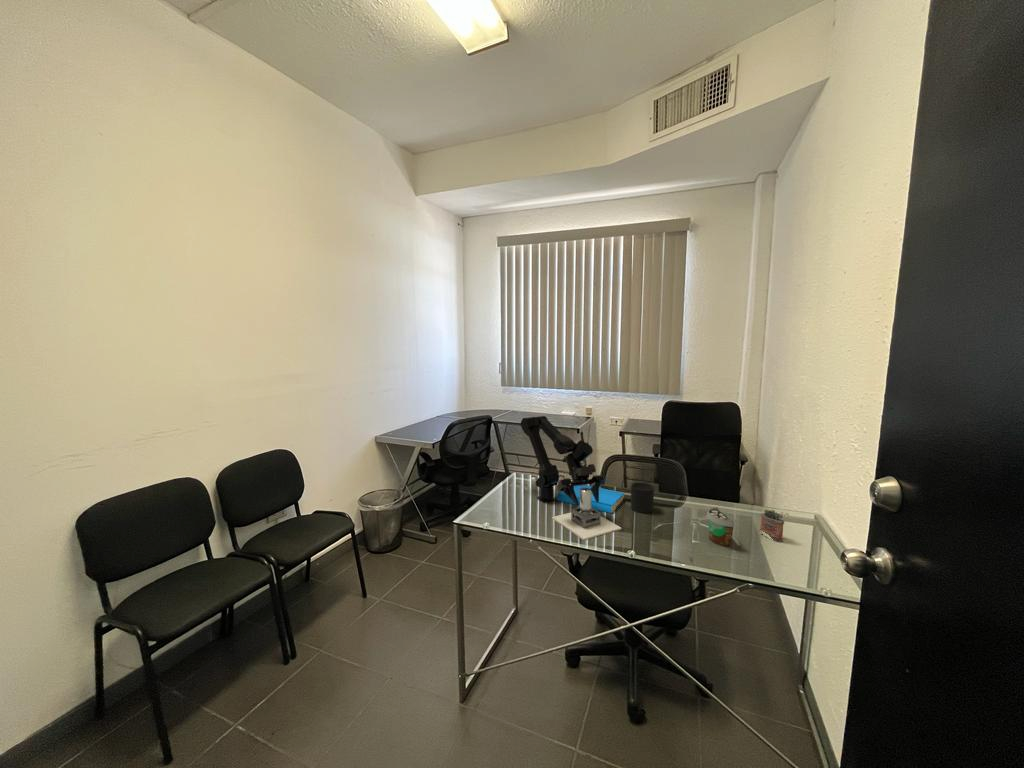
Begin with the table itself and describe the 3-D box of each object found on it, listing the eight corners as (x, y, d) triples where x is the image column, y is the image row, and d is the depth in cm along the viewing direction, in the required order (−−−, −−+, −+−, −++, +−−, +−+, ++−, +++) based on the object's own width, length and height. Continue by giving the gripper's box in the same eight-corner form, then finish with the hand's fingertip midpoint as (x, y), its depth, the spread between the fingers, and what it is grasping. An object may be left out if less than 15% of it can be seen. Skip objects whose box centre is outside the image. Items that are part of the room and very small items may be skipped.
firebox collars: (571, 520, 157) (571, 509, 157) (587, 516, 161) (587, 505, 161) (584, 528, 150) (584, 516, 150) (600, 524, 154) (600, 512, 154)
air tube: (577, 522, 156) (577, 490, 154) (583, 518, 159) (583, 486, 158) (587, 525, 153) (587, 492, 151) (593, 521, 156) (593, 489, 155)
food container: (699, 532, 150) (700, 506, 149) (715, 532, 149) (717, 506, 148) (714, 548, 137) (716, 520, 136) (732, 549, 137) (734, 521, 136)
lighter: (757, 533, 149) (758, 507, 148) (763, 531, 150) (765, 506, 149) (778, 543, 141) (780, 516, 140) (784, 541, 143) (787, 514, 142)
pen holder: (658, 510, 169) (659, 487, 168) (643, 515, 164) (644, 492, 163) (639, 503, 177) (640, 481, 176) (625, 507, 171) (626, 485, 170)
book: (572, 482, 193) (624, 492, 179) (572, 490, 193) (624, 501, 180) (557, 493, 178) (611, 504, 165) (557, 502, 179) (611, 514, 165)
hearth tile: (552, 518, 160) (552, 517, 160) (587, 509, 169) (587, 508, 169) (583, 540, 143) (583, 538, 143) (621, 529, 151) (621, 527, 151)
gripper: (560, 459, 154) (573, 497, 145) (603, 455, 160) (617, 491, 151) (552, 472, 162) (563, 509, 153) (592, 468, 168) (606, 503, 159)
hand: (588, 503), depth 154 cm, fingers open, 8 cm apart
